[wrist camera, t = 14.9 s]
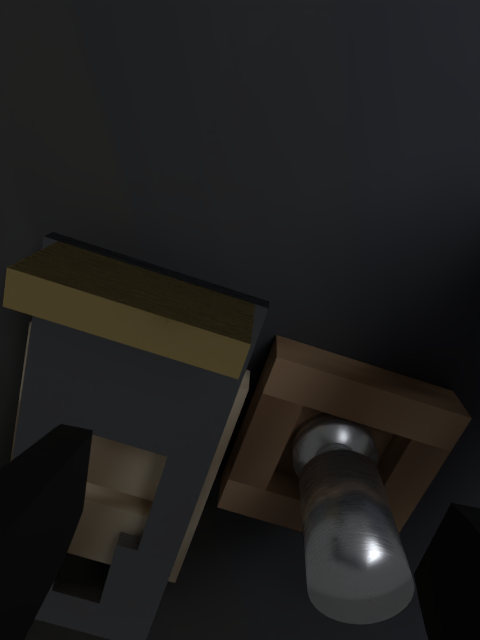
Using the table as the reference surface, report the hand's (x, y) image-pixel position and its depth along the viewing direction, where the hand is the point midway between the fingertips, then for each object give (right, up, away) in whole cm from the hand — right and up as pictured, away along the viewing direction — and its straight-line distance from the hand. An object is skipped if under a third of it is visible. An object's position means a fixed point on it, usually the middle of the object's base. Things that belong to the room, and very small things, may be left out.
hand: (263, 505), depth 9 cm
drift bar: (-6, -3, +11) cm, 13 cm away
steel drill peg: (+4, -2, +11) cm, 12 cm away
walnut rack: (+4, -2, +12) cm, 12 cm away
